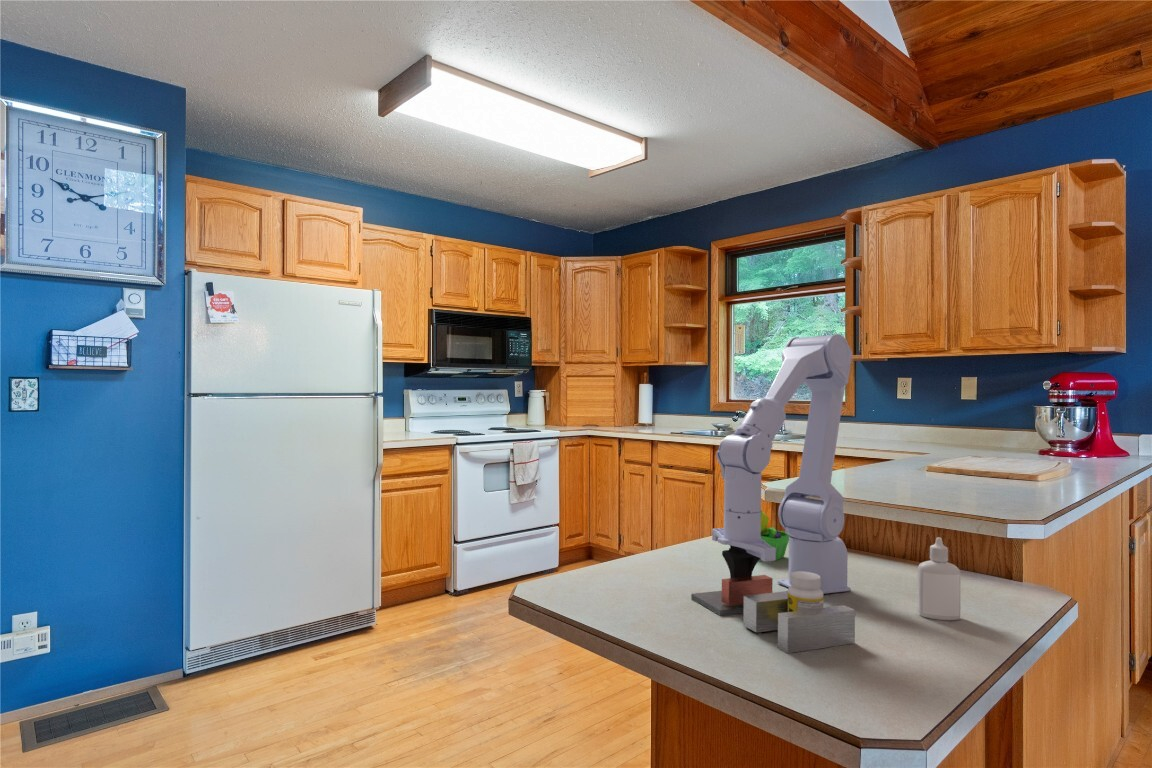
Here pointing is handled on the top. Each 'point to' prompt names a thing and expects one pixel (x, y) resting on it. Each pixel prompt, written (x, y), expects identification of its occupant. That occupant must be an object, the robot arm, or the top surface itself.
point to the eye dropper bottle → (938, 585)
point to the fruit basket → (774, 537)
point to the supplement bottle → (804, 591)
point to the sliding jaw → (756, 601)
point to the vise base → (717, 603)
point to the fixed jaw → (816, 628)
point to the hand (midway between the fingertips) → (741, 595)
